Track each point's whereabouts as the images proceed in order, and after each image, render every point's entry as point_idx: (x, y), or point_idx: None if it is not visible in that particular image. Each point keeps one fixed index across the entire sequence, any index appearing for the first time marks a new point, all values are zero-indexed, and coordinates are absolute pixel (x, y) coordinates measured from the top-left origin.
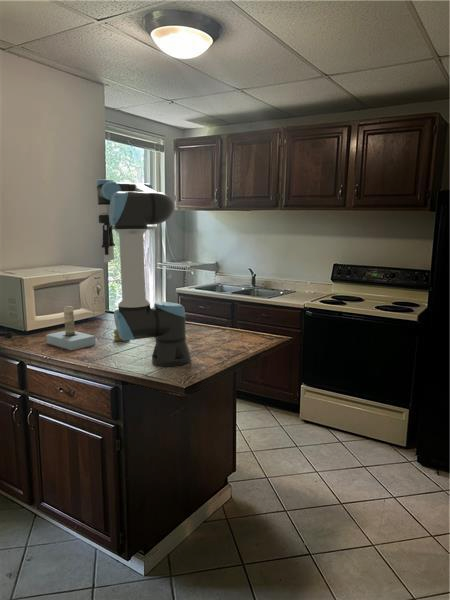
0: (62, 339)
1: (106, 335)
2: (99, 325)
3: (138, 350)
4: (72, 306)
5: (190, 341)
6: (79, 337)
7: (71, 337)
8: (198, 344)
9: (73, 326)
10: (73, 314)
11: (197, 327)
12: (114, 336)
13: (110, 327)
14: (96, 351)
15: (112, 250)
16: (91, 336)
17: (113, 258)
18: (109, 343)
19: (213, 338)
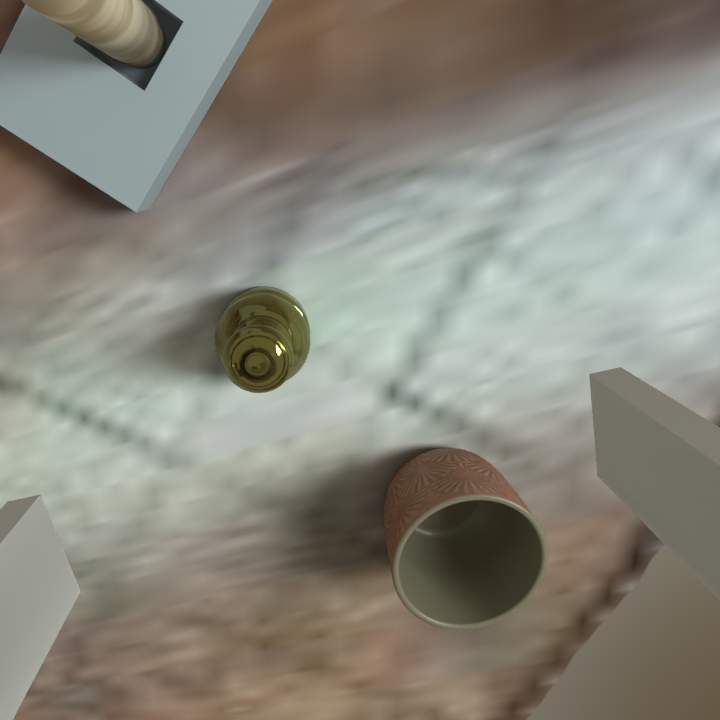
0: (19, 18)
1: (363, 201)
2: (640, 52)
3: (73, 469)
4: (77, 2)
5: (263, 643)
6: (80, 125)
7: (70, 67)
8: (215, 681)
9: (104, 51)
10: (90, 31)
11: (538, 621)
12: (235, 300)
13: (574, 154)
14: (12, 269)
15: (717, 578)
16: (118, 196)
17: (610, 482)
18: (183, 283)
19: (323, 716)
